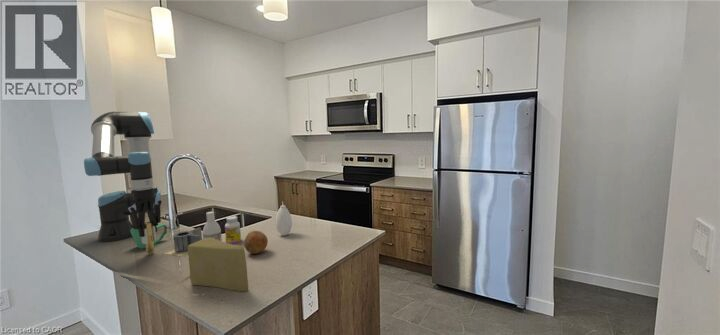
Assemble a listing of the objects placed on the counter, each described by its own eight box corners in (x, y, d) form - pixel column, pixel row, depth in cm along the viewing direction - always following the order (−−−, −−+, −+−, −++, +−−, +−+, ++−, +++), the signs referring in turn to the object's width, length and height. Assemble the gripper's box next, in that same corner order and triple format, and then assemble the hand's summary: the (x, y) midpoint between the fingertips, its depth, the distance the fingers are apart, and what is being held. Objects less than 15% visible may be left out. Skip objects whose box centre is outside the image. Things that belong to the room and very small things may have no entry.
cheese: (257, 284, 106) (254, 243, 104) (235, 298, 98) (232, 254, 96) (213, 273, 116) (210, 235, 114) (189, 285, 107) (185, 244, 105)
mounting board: (162, 255, 133) (162, 253, 133) (193, 242, 148) (193, 240, 148) (188, 259, 128) (188, 257, 128) (217, 245, 143) (217, 243, 143)
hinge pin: (144, 252, 131) (141, 223, 129) (151, 249, 134) (148, 221, 132) (149, 253, 130) (146, 224, 128) (156, 250, 133) (153, 222, 131)
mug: (138, 254, 136) (136, 232, 134) (129, 250, 141) (126, 229, 140) (173, 243, 148) (171, 223, 147) (163, 239, 153) (160, 220, 152)
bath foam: (223, 259, 128) (219, 213, 125) (205, 263, 125) (200, 215, 122) (222, 253, 134) (219, 209, 131) (205, 256, 131) (201, 211, 128)
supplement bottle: (223, 245, 143) (220, 219, 142) (232, 240, 150) (230, 215, 148) (234, 246, 141) (232, 220, 140) (244, 241, 148) (242, 216, 146)
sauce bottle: (295, 233, 157) (293, 199, 155) (284, 238, 150) (282, 203, 148) (284, 231, 161) (282, 198, 159) (273, 236, 155) (271, 201, 152)
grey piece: (171, 251, 135) (169, 235, 134) (195, 240, 147) (194, 226, 146) (193, 254, 131) (191, 238, 130) (216, 243, 143) (215, 229, 142)
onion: (272, 249, 137) (271, 227, 136) (259, 258, 128) (258, 235, 127) (254, 247, 140) (252, 226, 139) (240, 256, 130) (238, 233, 129)
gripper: (129, 193, 120) (136, 250, 123) (167, 185, 134) (172, 236, 138) (116, 192, 122) (123, 247, 125) (155, 184, 137) (160, 234, 140)
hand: (149, 241), depth 132 cm, fingers closed on hinge pin, 3 cm apart
